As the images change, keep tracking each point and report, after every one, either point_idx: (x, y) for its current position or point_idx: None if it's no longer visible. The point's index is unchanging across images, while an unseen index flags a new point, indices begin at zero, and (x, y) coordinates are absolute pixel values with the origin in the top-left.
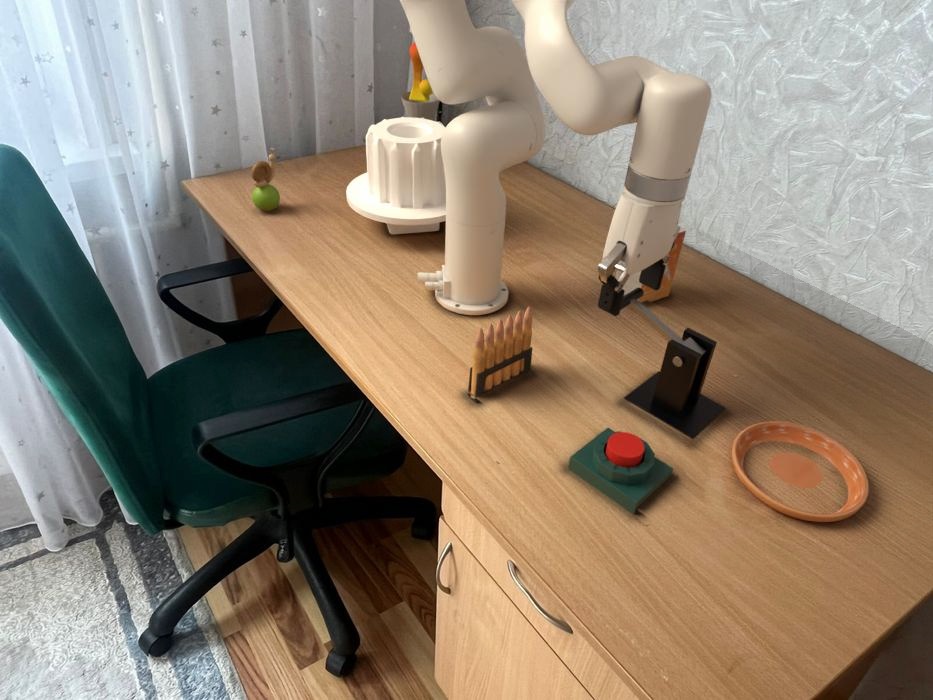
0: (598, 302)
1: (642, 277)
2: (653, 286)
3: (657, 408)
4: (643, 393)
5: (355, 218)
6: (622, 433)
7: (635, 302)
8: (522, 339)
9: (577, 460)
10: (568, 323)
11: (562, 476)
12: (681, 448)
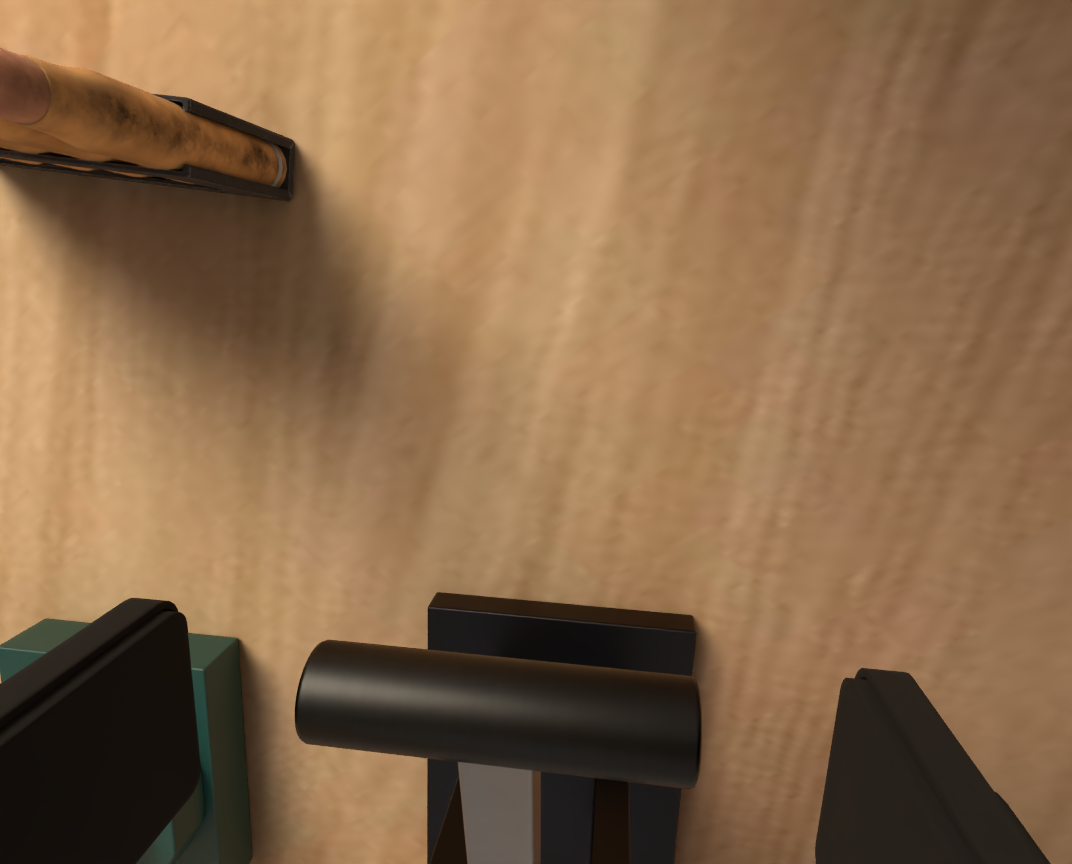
0: (109, 613)
1: (864, 749)
2: (828, 851)
3: None
4: (509, 651)
5: None
6: None
7: (487, 789)
8: (33, 141)
9: (5, 672)
10: (786, 42)
11: (14, 621)
12: (399, 834)
